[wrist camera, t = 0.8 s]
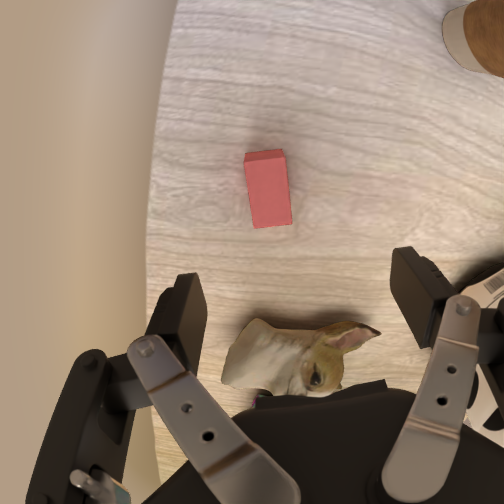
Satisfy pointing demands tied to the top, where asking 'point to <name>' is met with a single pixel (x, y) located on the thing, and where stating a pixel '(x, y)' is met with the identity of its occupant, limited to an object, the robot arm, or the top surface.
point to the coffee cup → (477, 36)
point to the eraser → (268, 188)
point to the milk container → (481, 398)
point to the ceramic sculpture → (292, 357)
